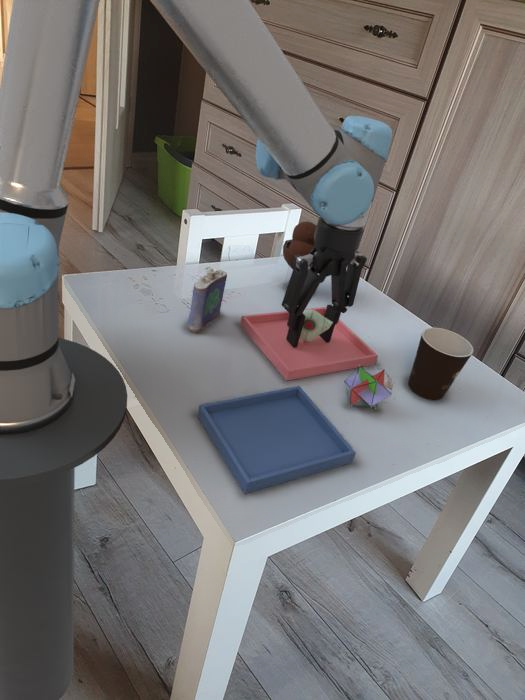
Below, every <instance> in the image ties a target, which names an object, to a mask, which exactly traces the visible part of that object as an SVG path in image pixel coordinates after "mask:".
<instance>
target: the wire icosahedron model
mask: <svg viewBox="0 0 525 700" xmlns="http://www.w3.org/2000/svg"><path fill="white" fill-rule="evenodd" d="M365 367H366V368H367V366H364V367H361V366H360V365H359V367H358V368H357V371H356V373H355V374H353V375H352V376H349V377H347V378H346V379H344V380H343V382H344V385H345V388H346V390H348V389H347V386H348V387H349V389H350V398H348V399H349V401H350V407H354V405H355V404H356V403H358V402H360V401H361V400H363V402H365V403H366V404H367V406H365V405H363V408H368V409H369V408H371V409H374V410H376V409H377V408H378V404H379V403H380V402H382V403H384V400H386V399H388V398H389V397H391V396H393V386H394V384H393V381H392V378H391V377H390V375H389V373H388V371H386V368H383V369H381V367H380V368H379V367H378V370H380V371H378V372H376V373H375V374H373V375H372V374H371V373H370V372H369V371H367V369H366V368H365ZM371 369H374V367H373V366H371ZM385 375H386V377H385ZM346 394H349V392H348V391H347V393H346ZM382 403H380V405H381V404H382ZM357 407H360V408H361V405H357Z"/></svg>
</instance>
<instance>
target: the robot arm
mask: <svg viewBox="0 0 525 700" xmlns="http://www.w3.org/2000/svg"><path fill="white" fill-rule="evenodd" d="M149 1H150V2H151V3H152V5H153V6H154V7H155V9H156V10H157V11H158V13H159V14H160V15H161V16H162V18H163V19H164V20H165V22H166V23H167V24H168V25H169V27H170V28H171V29H172V30H173V31H174V33H175V34H176V36H177V37H178V38H179V39H180V40H181V42H182V43H183V44H184V46H185V47H186V48H187V50H188V51H189V52H190V53H191V54H192V56H193V57H194V59H195V60H196V61H197V63H199V65H200V67H202V69H203V70H204V71H205V72H206V74H207V75H208V76H209V78H210V79H211V80H212V82H213V83H214V84H215V85H216V87H217V88H218V90H220V92H221V93H222V94H223V96H224V97H225V98H226V99H227V101H228V102H229V103H230V105H231V106H232V107H233V108H234V109H235V111H236V112H237V114H238V115H239V116H240V117H241V118H242V120H243V122H245V123H246V125H247V126H248V128H249V129H250V130H251V131H252V133H253V134H254V135H255V137H256V138H257V141H256V148H255V164H256V169H257V171H258V173H259V174H260V175H261V176H262V177H265V178H269V179H274V180H275V181H279V180H285V181H287V183H289V185H290V186H291V187H292V188H293V189H294V190H295V191H296V192H297V193H298V194H299V195H300V196H301V197H302V198H303V200H305V202H306V203H307V204H308V205H309V206H310V207H311V209H312V210H313V211H314V213H315V214H316V215H317V216H318V217H319V218H318V220H317V223H316V225H317V227H316V231H315V234H314V247H313V248H312V250H311V251H310V254H308V255H305V256H301V255H299V254H297V255H295V257H294V268H293V269H292V272H291V275H290V278H289V281H288V283H287V285H288V287H287V286H286V288H287V289H285V293H284V295H283V299H282V302H281V307H283V309H284V310H285V311H288V312H289V313H290V314H289V318H288V322H287V326H288V327H289V330H288V334H287V337H286V340H287V341H288V342H289V343H290V344H291V345H292V346H293V348H295V347H297V346H298V342H299V338H300V335H301V331H302V327H303V324H304V320H305V317H306V316H305V315H304V314H303V312H304V310H305V309H307V306H308V305H309V303H310V302H311V299H312V298H313V296H314V295H315V293H316V291H317V289H318V287H319V286H320V285H321V284H322V283H324V281H325V280H326V278H328V277H330V281H331V282H330V283H331V286H330V287H331V288H330V289H331V290H330V291H331V304H327V305H326V307H327V308H326V311H325V315H324V317H325V318H327V319H328V320H330V321H332V322H333V323H332V325H331V326H330V328H329V329H328V330H326V331H324V332H323V333H321V334H320V335H319V336H320V337H321V338H322V339H323V340H324V341H325V342H326V343H328V342H330V340H331V337H332V333H333V330H334V327H335V325H336V324H337V323H338V321H339V319H340V318H341V314H346V313H347V312H348V308H347V307H349V308H352V307H353V306H354V303H355V300H356V295H357V291H358V287H359V283H360V278H361V275H362V271H363V268H364V267H365V266H366V263H367V261H368V258H367V257H366V256H365V255H363V254H362V253H361V252H359V248H360V245H361V241H362V238H363V235H364V233H365V231H364V227H365V226H366V224H367V222H368V219H369V216H370V212H371V209H372V207H373V203H374V199H375V197H376V193H377V190H378V187H379V184H380V181H381V177H382V174H383V171H384V168H385V165H386V163H387V161H388V158H389V157H388V156H389V152H390V149H391V145H392V139H393V130H392V128H391V126H390V125H388V124H386V123H385V122H382V121H381V120H378V119H374V118H370V117H365V116H361V115H360V116H359V115H348V116H347V117H345V118H344V119H343V122H342V125H341V126H340V129H334V128H333V126H332V125H331V124H330V122H329V120H328V119H327V118H326V116H325V114H324V113H323V111H322V110H321V108H320V106H319V105H318V104H317V102H316V101H315V99H314V97H313V96H312V95H311V93H310V91H309V90H308V89H307V87H306V85H305V84H304V82H303V80H302V79H301V77H300V76H299V75H298V73H297V72H296V70H295V69H294V67H293V66H292V64H291V63H290V61H289V59H288V58H287V57H286V54H284V52H283V50H282V48H281V47H280V45H279V44H278V43H277V41H276V40H275V38H274V37H273V35H272V33H271V32H270V31H269V29H268V28H267V26H266V24H265V23H264V22H263V19H262V18H261V17H260V15H259V13H258V12H257V11H256V9H255V8H254V5H252V3H251V2H250V0H149ZM100 2H101V0H12V6H11V10H10V11H11V12H10V18H9V26H8V32H7V37H6V38H7V39H6V46H5V51H4V60H3V65H2V73H1V79H0V434H18V433H24V432H29V431H32V430H36V429H39V428H41V427H44V426H46V425H48V424H50V423H52V422H54V421H55V420H57V419H58V418H59V417H61V416H62V415H63V414H64V413H65V412H66V411H67V410H68V408H69V407H70V405H71V403H72V400H73V396H74V383H75V377H74V375H73V372H72V374H71V372H70V370H69V367H68V365H67V363H66V360H65V358H64V356H63V354H62V351H61V349H60V347H59V338H60V324H59V323H60V322H59V321H60V315H59V272H60V263H61V261H60V253H59V251H60V245H61V243H60V242H61V238H62V234H63V229H64V225H65V221H66V216H67V212H68V207H69V204H70V203H69V202H70V196H69V194H68V193H67V191H66V190H65V188H64V187H63V186H62V184H61V183H62V177H63V173H64V170H65V169H64V168H65V164H66V159H67V155H68V150H69V147H70V146H69V145H70V140H71V135H72V131H73V126H74V122H75V117H76V112H77V108H78V103H79V99H80V95H81V90H82V85H83V81H84V75H85V71H86V67H87V63H88V57H89V53H90V48H91V43H92V38H93V34H94V29H95V24H96V22H97V21H96V20H97V16H98V11H99V7H100ZM311 262H312V264H311V265H310V263H311ZM316 272H317V273H318V274H317V273H316Z"/></svg>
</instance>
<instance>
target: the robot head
mask: <svg viewBox="0 0 525 700" xmlns="http://www.w3.org/2000/svg"><path fill="white" fill-rule="evenodd" d="M303 314H304V315H305V316H306V317H305V320H304V324H303V327H302V331H301V335H300V339H301V340H303V341H305V342H311V341H312V340H314V339H315V338H316V337H317V336H318V335H320V334H321V333H323V332H324V331H326V330H328V329H329V328H330V326H331V325H332V323H333V322H332V321H330V320H328V319H327V318H325V317H324V316H322V315H321V314H320V313H318V312H317V311H315V310H304V312H303Z"/></svg>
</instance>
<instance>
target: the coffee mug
mask: <svg viewBox="0 0 525 700" xmlns="http://www.w3.org/2000/svg"><path fill="white" fill-rule="evenodd" d="M473 354H474V347H473V345H472V344H471V343H470V341H468V339H466V338H465V337H463V336H462V335H461V334H459V333H456V332H454V331H451V330H449V329H446V328H441V327H427V328H424V329H423V330H422V332H421V335H420V339H419V341H418V346H417V350H416V354H415V357H414V360H413V364H412V367H411V372H410V375H409V379H408V382H407V384H408V385H407V386H408V388H409V389H410V390H411V392H413V393H414V394H415V395H416V396H418V397H419V398H422V399H425V400H428V401H440V400H442V399H443V398H444V397H445V396H446V394H447V392H448V391H449V389H450V388H451V386H452V385H453V383H454V382H455V380H457V378H458V376H459V375H460V373H461V371H462V370H463V368H464V367H465V365H466V364H467V363H468V361H469V359H470V358H471V356H472V355H473Z"/></svg>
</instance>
